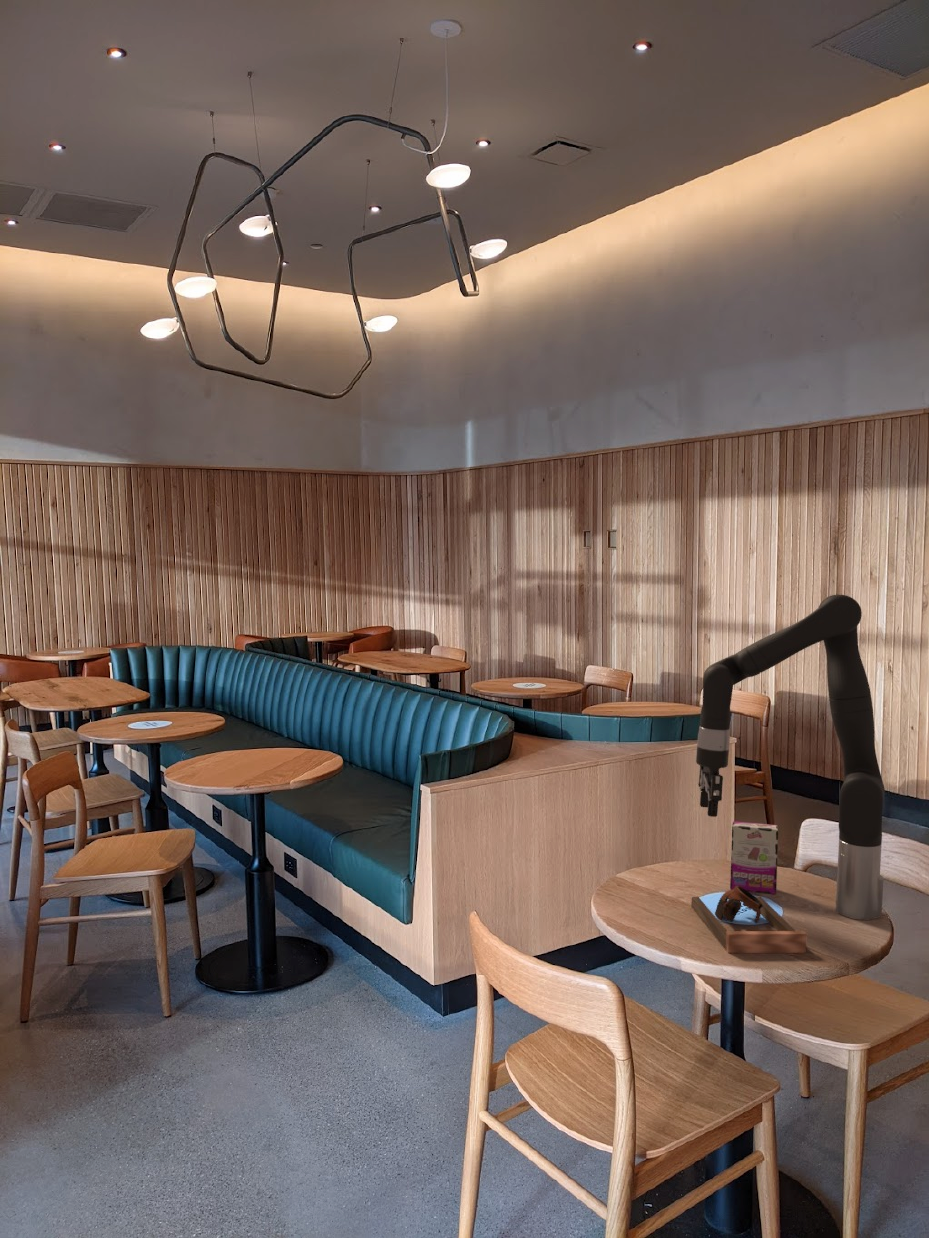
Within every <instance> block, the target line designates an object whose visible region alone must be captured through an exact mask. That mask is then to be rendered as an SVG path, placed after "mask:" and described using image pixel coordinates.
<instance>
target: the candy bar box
mask: <svg viewBox="0 0 929 1238" xmlns="http://www.w3.org/2000/svg"><path fill="white" fill-rule="evenodd" d="M778 843H779V827H778V824H768V823H767V824H766V823H757V822H755V823H754V822H745V821H744V822H743V821H734V820H733V821H732V824H731V851H730V881H729V882H730V884H729V889H730V890H733V889H734V888H735V886H740V887H742V888H744V889H745V890H747V891H748V892H750V893H759V894H760V893H762V894H769V895H776V894H777V883H778V880H777V879H778V850H779V849H778V847H779V844H778Z"/></svg>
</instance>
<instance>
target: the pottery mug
mask: <svg viewBox="0 0 929 1238" xmlns="http://www.w3.org/2000/svg"><path fill="white" fill-rule="evenodd" d="M756 897H757V896H755V895H754V894H753V893H752V892H749V891H747V890H745V889H744V888H742V887H740V886H735V888H734V889H733V890H732V889H730V890H729V889H728V890H727V891H725V892H724V893H723V894H722V895H721V897H720V898H719V900H718V902H717V904H716V908H715V912H714V914H715V915H714V916H715V917H716V918H717V919H718V921H720V920H722V921H723V919H725V920H726V921H728V922H734V920H735V918H736V915H737V914H738V913H739V911H741V909H742V905H743V906H744V907H746V908H748V909H751V910H752V911H754V912H755V913H756V914H755V918H754V923H755V924H757V923H758V922H759V921H760V918H761V911H760V908H761V907H762V906H763V905H762V903H761V902H760V901H759V900H758V899H757V898H756Z"/></svg>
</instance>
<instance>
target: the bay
mask: <svg viewBox="0 0 929 1238" xmlns="http://www.w3.org/2000/svg"><path fill="white" fill-rule="evenodd" d="M755 897H756V898H757V899H758V900H759V901H760V902H761V903H762V905H763V906H762V907H761V908H760V911H761V914H760V916H762V917H763V919H765V920H766V921H767V922H768V924H770V925H771V927H773V928H774V929H775V930H763V931H762V930H758V931H757V930H755V931H754V930H753V931H751V930H746V931H743V930H741V931H740V930H739V931H736V930H735V931H734V930H733V931H732V930H731V931H729V930H727V929H726V928H725V927H724V925H723V923H721V921H720V920H719V919H718V918H717V916H716V915H714V914H713V912H712V911H711V909H709V908H708V906H707V905H706V904H705V903H704V902H703V900H702V899H701V898H700V897H699V896H691V902H690V903H691V904H690V905H691V909H692V908H693V909H694V910H693V909H692V910H693V912H695V914H696V913H697V914H696V915H697V916H698V918H701V919H702V920H701V919H700V920H701V921H702V923H705V924H704V925H705V926H706V927H707V929H708V928H709V929H708V930H709V931H710V932H711V933H712V935H713V936H714V937H715V938H716V940H717V941H718V942H719V944H720V945H721V947H723V949H724V950H725V951H726V952H727V954H763V953H764V954H765V953H767V954H769V953H770V954H771V953H773V954H775V953H776V954H777V953H779V954H781V953H783V954H785V953H788V954H789V953H791V954H792V953H793V954H795V953H797V954H799V953H802V954H803V953H804V954H805V953H807V951H806V950H807V933H806V932H805V931H804V930H796V929H795V928H794V927H792V925H790V924H789V923H788V922H787V920H785V919H784V918H783V917H782V915H780V914H779V913H778V912H777V911H776V910H775V909H774V908H773V907H772V906H771V905H770V904H769V903H768V902H767V900H765V899H764V898H762V896H755Z"/></svg>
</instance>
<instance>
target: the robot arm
mask: <svg viewBox="0 0 929 1238" xmlns="http://www.w3.org/2000/svg"><path fill="white" fill-rule="evenodd" d="M862 614H863V612H862V608H861V606H860V604H859V603H858V601H857V600H856V599H854V598H853V597H851V596H849V595H847V594H831V595H828V596H827V597H826V598H824V599H823V600H821V601H820V603H819V605H818V608H817V609H815V610H813V611H812V612H811V613H809V614H808V615H807V616H806V617H804V618H802V619H800V620H799V621H797V622H795V623H793V624H792V625H789V626H787V627H785V628H783V629H781V630H779V631H776V632H774V633H771V634H769V635H766V636H765V637H762V638H761V639H759V640H757V641H754V642H753V643H751V644H749V645H747V646H746V647H744V648H742V649H741V650H739V651H738V652H736V653H734V654H732V655H729V656H727V657H725V658H723V659H720V660H718V661H716V662H714V663H712V664H711V665H709V666H708V667H707V668H706V669H705V670H704V672H703V678H702V679H703V680H702V705H701V709H700V717H699V728H698V733H697V744H696V745H697V747H696V755H695V756H696V758H695V762H696V764H697V765H698V766H699V773H698V774H699V775H698V776H699V777H698V783H697V784H698V785H697V786H698V787H699V791H700V796H699V797H700V798H699V806H700V807H701V808H707V813H706V814H707V816H709V817H711V818H713V817H715V818H716V817H717V816H718V810H719V809H718V808H719V802H721V801H722V800H723V798H722V797H723V781H724V777H723V775H721V774H720V769H724V768H727V767H728V765H729V755H730V754H729V753H730V740H731V737H730V730H731V728H730V726H731V703H732V696H733V689H734V686H735V685H736V684H738V683H740V682H742V681H745V680H746V679H749V678H752V677H755V676H758V675H760V674H761V673H763V672H766V671H768V670H769V669H771V668H773V667H775V666H777V665H779V664H780V663H781V662H783V661H785V660H787V659H788V658H790V657H792V656H794V655H796V654H798V653H799V652H801V651H802V650H805V649H807V648H809V647H812V646H813V645H816V644H817V643H821V642H823V643H824V649H825V654H826V656H825V657H826V679H827V690H828V691H827V692H828V699H829V707H830V715H831V720H832V723H833V726H834V730H835V732H836V735H837V738H838V742H839V745H840V748H841V752H842V753H841V754H842V761H843V783H842V785H841V787H840V791H839V806H838V808H839V809H838V831H839V832H838V855H837V875H836V893H835V911H836V912H837V914H840V915H842V916H843V917H845V918H846V917H847V918H850V919H854V920H862V921H864V920H866V921H867V920H868V921H869V920H875V919H876V918H882V916H883V899H884V897H883V895H884V879H885V878H884V876H883V875H881V864H882V863H881V862H882V859H881V858H882V843H883V842H882V841H883V811H884V810H883V809H884V799H885V793H886V790H885V789H886V788H885V785H884V781H883V778H882V773H881V770H880V767H879V762H878V758H877V753H876V747H875V746H876V742H875V740H876V739H875V735H876V733H875V718H874V708H873V700H872V693H871V692H872V691H871V688H870V683H869V680H868V676H867V673H866V669H865V666H864V663H863V661H862V660H863V659H862V658H861V653H860V648H859V639H858V637H859V636H858V626H859V624H860V623H861V619H862Z"/></svg>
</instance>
